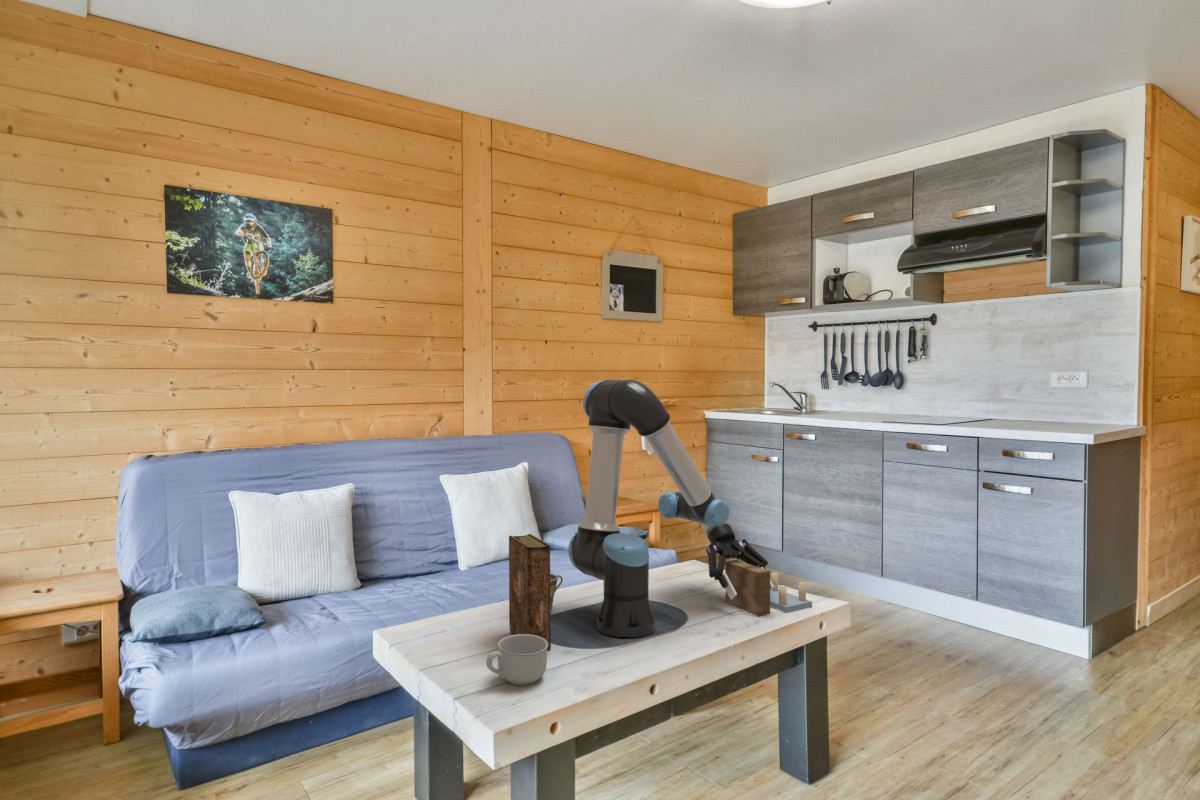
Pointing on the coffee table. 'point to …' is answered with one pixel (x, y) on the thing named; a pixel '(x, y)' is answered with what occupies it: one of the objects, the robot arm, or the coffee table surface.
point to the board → (749, 587)
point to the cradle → (787, 596)
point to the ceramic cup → (553, 587)
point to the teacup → (520, 658)
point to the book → (529, 587)
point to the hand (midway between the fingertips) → (752, 593)
